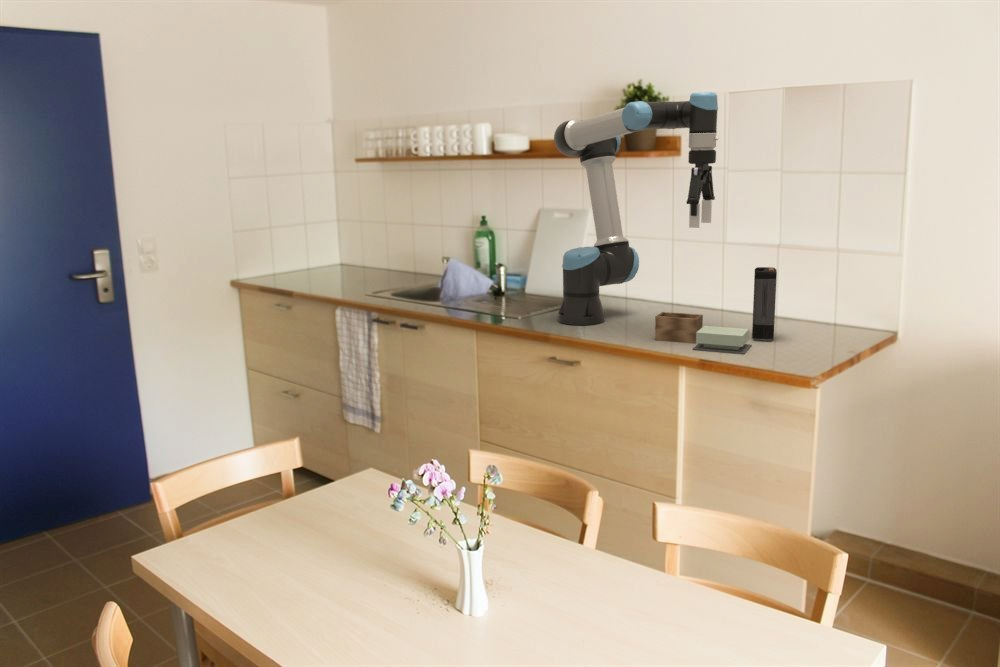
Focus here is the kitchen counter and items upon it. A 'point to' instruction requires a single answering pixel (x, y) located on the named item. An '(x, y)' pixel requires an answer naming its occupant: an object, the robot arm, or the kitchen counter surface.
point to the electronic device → (764, 304)
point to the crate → (677, 327)
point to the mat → (740, 351)
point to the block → (722, 337)
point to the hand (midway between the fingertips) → (700, 225)
